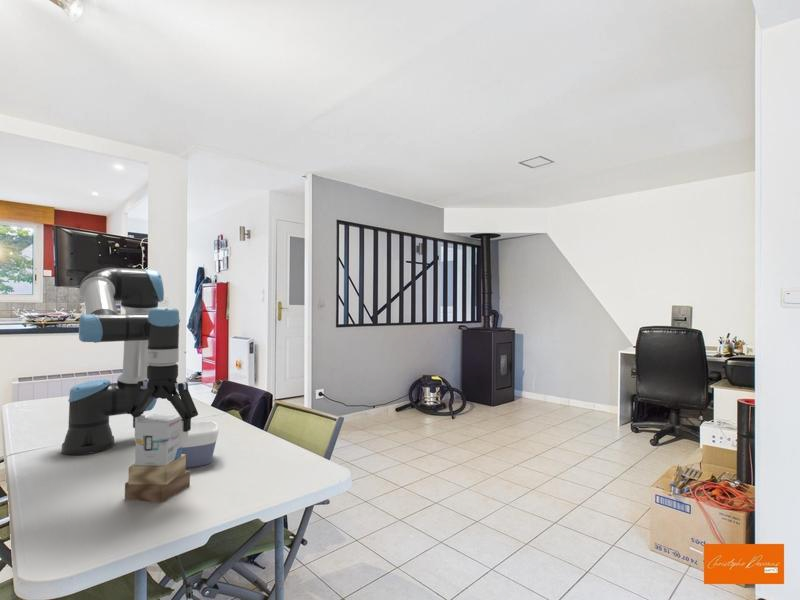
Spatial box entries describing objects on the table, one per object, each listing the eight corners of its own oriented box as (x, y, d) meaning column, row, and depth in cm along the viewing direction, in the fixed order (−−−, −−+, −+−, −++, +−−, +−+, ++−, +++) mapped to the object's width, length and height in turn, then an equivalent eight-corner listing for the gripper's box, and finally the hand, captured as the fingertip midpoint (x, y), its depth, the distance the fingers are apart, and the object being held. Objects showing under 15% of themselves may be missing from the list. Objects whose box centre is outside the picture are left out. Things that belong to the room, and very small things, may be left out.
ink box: (152, 454, 121) (153, 413, 121) (182, 455, 121) (183, 413, 121) (133, 465, 112) (135, 421, 112) (166, 466, 112) (167, 421, 113)
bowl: (165, 474, 129) (166, 437, 129) (166, 457, 142) (167, 424, 143) (220, 465, 136) (221, 431, 136) (216, 451, 149) (217, 419, 150)
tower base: (124, 500, 112) (125, 483, 112) (155, 483, 123) (156, 467, 123) (161, 504, 110) (161, 486, 110) (189, 486, 121) (190, 470, 121)
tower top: (128, 484, 111) (128, 467, 111) (150, 469, 121) (150, 453, 121) (166, 484, 111) (166, 467, 112) (185, 470, 121) (185, 454, 122)
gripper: (112, 364, 115) (110, 442, 115) (194, 367, 111) (193, 449, 111) (134, 360, 123) (132, 434, 122) (212, 363, 118) (210, 440, 118)
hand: (161, 441), depth 117 cm, fingers open, 13 cm apart
